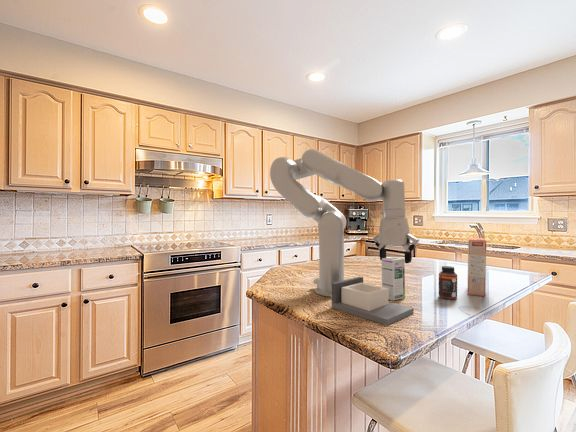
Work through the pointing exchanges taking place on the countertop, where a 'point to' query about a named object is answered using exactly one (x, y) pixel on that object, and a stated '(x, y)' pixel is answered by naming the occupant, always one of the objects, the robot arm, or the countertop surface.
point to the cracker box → (477, 266)
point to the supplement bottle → (448, 283)
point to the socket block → (365, 296)
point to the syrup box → (394, 277)
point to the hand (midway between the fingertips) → (395, 261)
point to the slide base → (380, 315)
